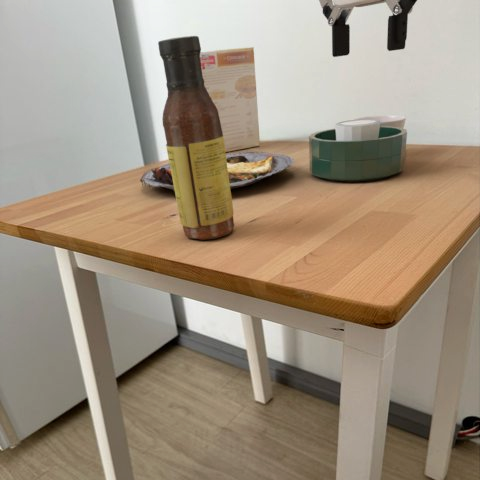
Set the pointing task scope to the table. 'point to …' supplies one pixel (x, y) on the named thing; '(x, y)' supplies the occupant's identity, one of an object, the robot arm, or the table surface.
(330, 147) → the green round tub
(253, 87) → the coffeecake box
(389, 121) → the pale round bowl
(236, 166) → the food plate
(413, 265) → the table surface
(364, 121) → the white faceted cup
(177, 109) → the sauce bottle
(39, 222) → the table surface
